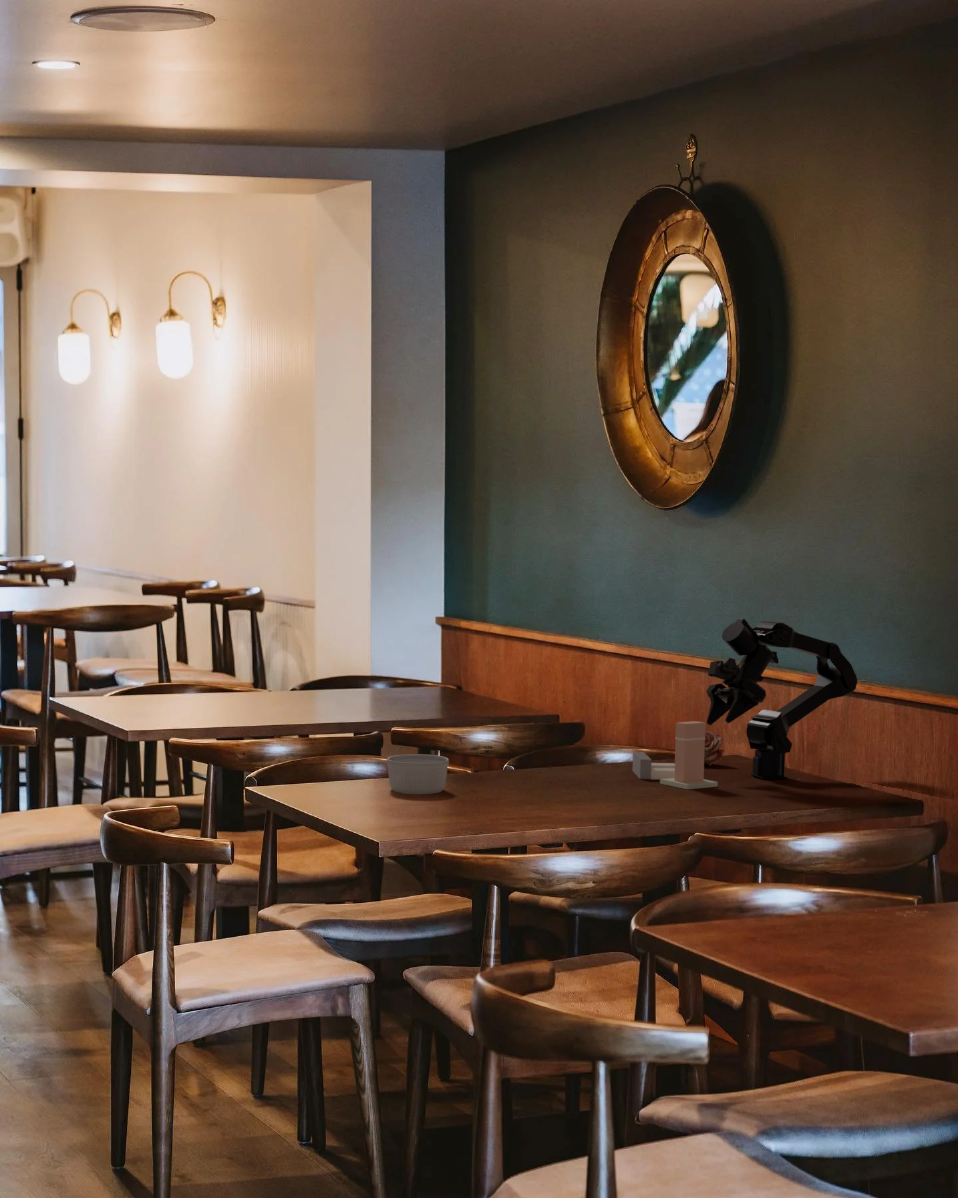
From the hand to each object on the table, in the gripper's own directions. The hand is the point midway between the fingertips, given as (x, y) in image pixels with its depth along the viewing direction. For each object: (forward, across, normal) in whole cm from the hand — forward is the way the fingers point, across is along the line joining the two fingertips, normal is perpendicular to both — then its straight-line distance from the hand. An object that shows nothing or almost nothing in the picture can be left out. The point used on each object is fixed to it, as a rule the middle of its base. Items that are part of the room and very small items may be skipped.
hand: (717, 723), depth 367 cm
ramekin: (+53, -3, -48) cm, 72 cm away
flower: (+2, -27, +13) cm, 30 cm away
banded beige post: (+15, +1, +1) cm, 15 cm away
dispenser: (+14, -13, 0) cm, 19 cm away
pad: (+16, +1, +2) cm, 16 cm away
